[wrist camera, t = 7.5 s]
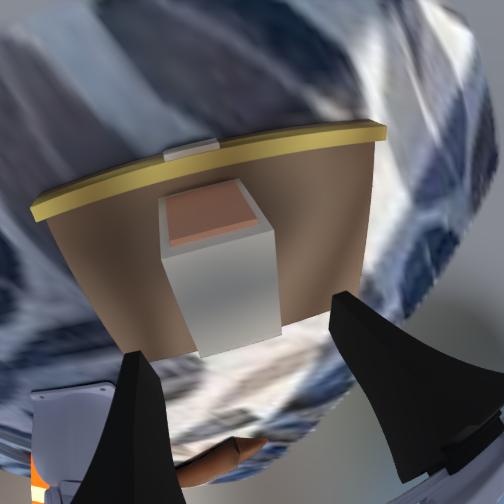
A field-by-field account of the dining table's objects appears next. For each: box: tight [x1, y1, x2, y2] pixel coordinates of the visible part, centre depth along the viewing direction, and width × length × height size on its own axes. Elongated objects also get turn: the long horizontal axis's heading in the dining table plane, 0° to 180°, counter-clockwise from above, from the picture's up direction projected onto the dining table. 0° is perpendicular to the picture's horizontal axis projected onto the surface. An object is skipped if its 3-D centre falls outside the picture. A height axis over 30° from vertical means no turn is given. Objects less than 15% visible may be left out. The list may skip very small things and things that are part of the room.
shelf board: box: [30, 119, 387, 362], centre depth 17 cm, size 18×14×2 cm
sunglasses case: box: [176, 436, 269, 488], centre depth 38 cm, size 18×7×7 cm
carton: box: [158, 178, 282, 358], centre depth 14 cm, size 4×6×5 cm, turn 7°
